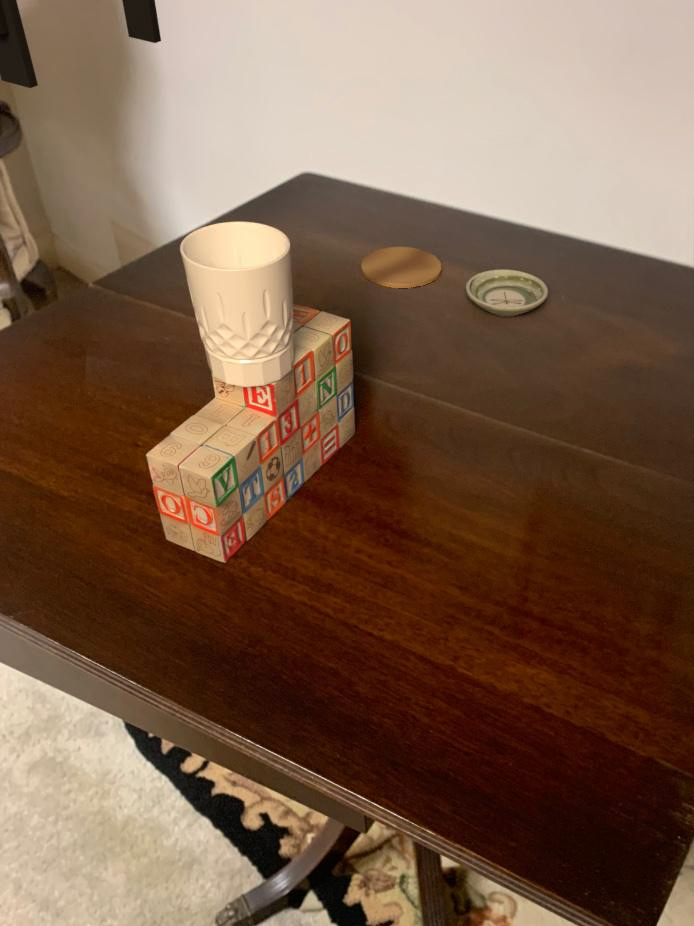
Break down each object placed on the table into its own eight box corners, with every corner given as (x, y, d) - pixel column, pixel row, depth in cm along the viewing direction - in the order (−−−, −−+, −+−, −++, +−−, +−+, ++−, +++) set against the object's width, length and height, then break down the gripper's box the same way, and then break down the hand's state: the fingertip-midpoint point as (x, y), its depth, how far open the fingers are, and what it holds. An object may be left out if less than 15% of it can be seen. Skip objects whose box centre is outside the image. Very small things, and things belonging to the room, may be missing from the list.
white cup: (240, 330, 75) (223, 212, 68) (319, 355, 73) (310, 236, 66) (181, 374, 70) (156, 252, 63) (264, 403, 68) (249, 279, 61)
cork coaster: (346, 276, 109) (346, 271, 108) (385, 244, 115) (385, 240, 114) (418, 296, 106) (418, 291, 105) (454, 263, 112) (454, 258, 112)
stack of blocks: (226, 567, 73) (202, 445, 64) (165, 542, 75) (133, 420, 66) (356, 432, 87) (351, 316, 78) (302, 414, 88) (291, 299, 79)
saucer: (530, 283, 109) (532, 264, 107) (557, 322, 103) (560, 303, 101) (455, 290, 107) (455, 271, 105) (478, 331, 101) (479, 311, 99)
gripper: (-136, -345, 44) (-2, 116, 59) (184, -331, 60) (224, 31, 75) (-239, -356, 46) (-83, 93, 61) (97, -339, 62) (153, 15, 77)
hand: (86, 60), depth 68 cm, fingers open, 13 cm apart
